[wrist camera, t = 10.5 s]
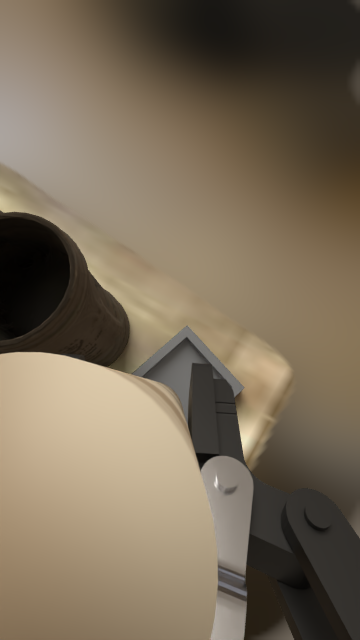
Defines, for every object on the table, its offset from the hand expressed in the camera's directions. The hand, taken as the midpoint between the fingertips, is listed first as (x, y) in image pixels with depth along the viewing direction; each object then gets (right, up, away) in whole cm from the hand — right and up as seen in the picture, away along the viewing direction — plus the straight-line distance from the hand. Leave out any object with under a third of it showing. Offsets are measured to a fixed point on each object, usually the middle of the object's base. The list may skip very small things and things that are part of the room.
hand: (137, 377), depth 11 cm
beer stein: (-12, +2, +28) cm, 30 cm away
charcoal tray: (+2, -6, +26) cm, 27 cm away
